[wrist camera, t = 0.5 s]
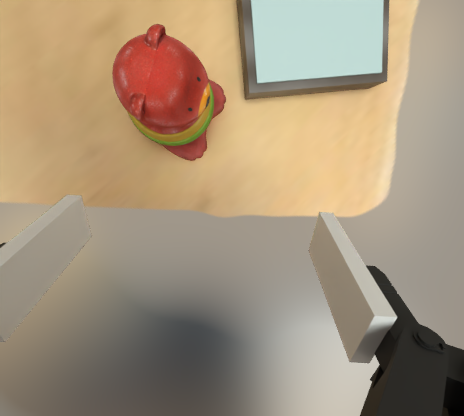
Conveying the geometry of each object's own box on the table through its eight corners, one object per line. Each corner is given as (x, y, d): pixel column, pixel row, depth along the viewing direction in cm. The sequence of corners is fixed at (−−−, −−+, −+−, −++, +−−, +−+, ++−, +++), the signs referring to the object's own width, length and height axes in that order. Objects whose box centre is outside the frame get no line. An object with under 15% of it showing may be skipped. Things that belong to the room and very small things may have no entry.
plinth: (231, -57, 31) (235, -87, 27) (371, -64, 33) (394, -93, 29) (245, 99, 35) (250, 92, 31) (369, 88, 36) (389, 80, 32)
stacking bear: (199, 165, 36) (192, 175, 19) (130, 134, 35) (53, 114, 17) (230, 91, 35) (254, 29, 17) (159, 55, 33) (107, -54, 16)
